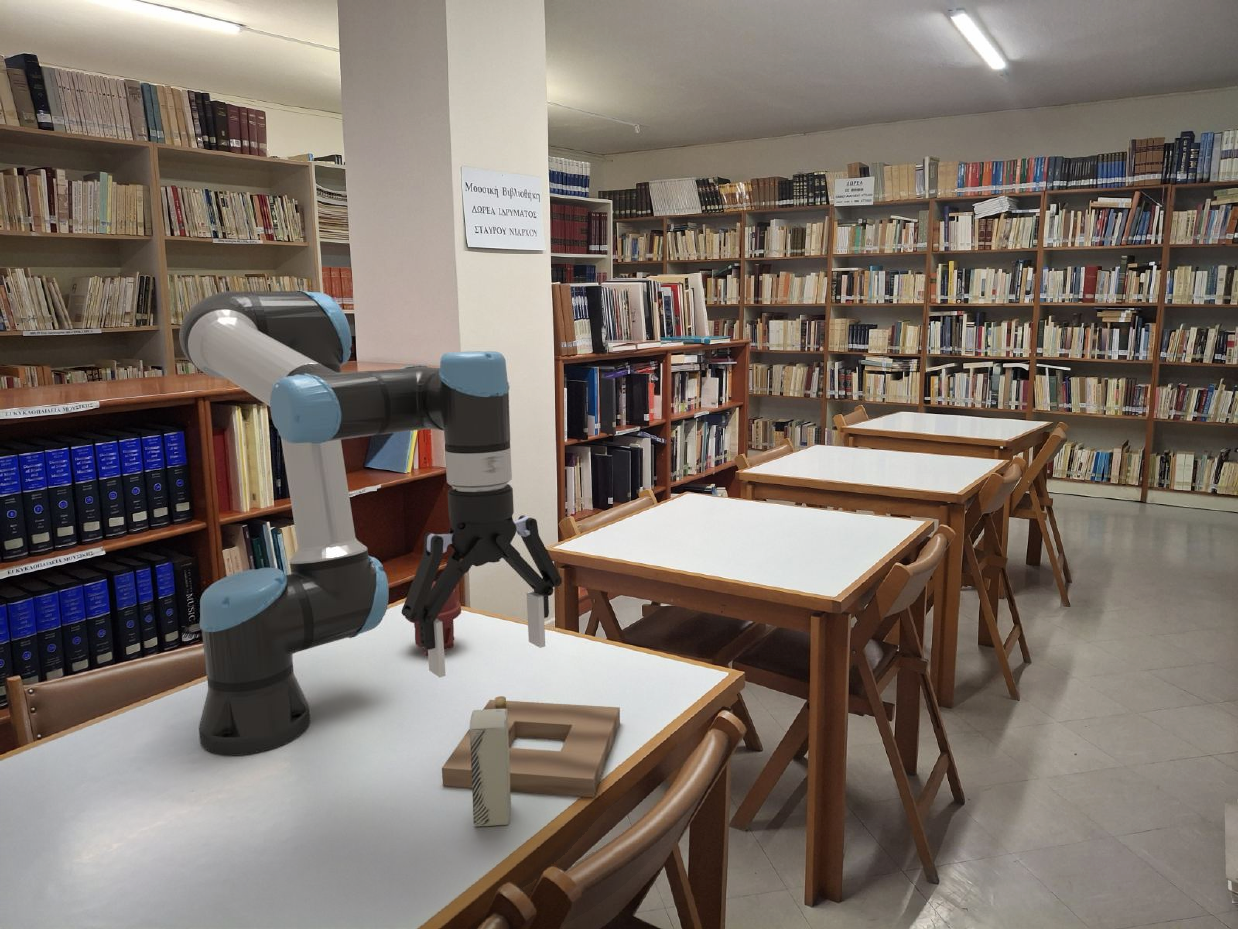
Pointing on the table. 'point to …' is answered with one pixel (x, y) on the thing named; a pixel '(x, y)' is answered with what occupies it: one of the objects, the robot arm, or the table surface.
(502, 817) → the box
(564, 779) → the socket board
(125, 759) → the table surface
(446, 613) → the mechanical component
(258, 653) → the robot arm
